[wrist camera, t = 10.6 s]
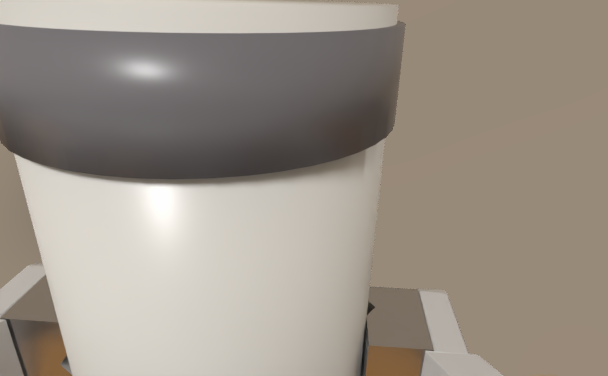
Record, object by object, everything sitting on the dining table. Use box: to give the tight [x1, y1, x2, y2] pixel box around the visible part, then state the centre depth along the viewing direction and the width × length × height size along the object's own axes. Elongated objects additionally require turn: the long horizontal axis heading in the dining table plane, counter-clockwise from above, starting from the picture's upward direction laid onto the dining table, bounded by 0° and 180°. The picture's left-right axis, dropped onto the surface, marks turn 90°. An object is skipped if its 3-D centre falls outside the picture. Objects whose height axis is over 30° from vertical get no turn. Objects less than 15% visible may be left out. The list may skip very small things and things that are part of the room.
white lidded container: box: [0, 0, 406, 376], centre depth 8 cm, size 5×5×12 cm
